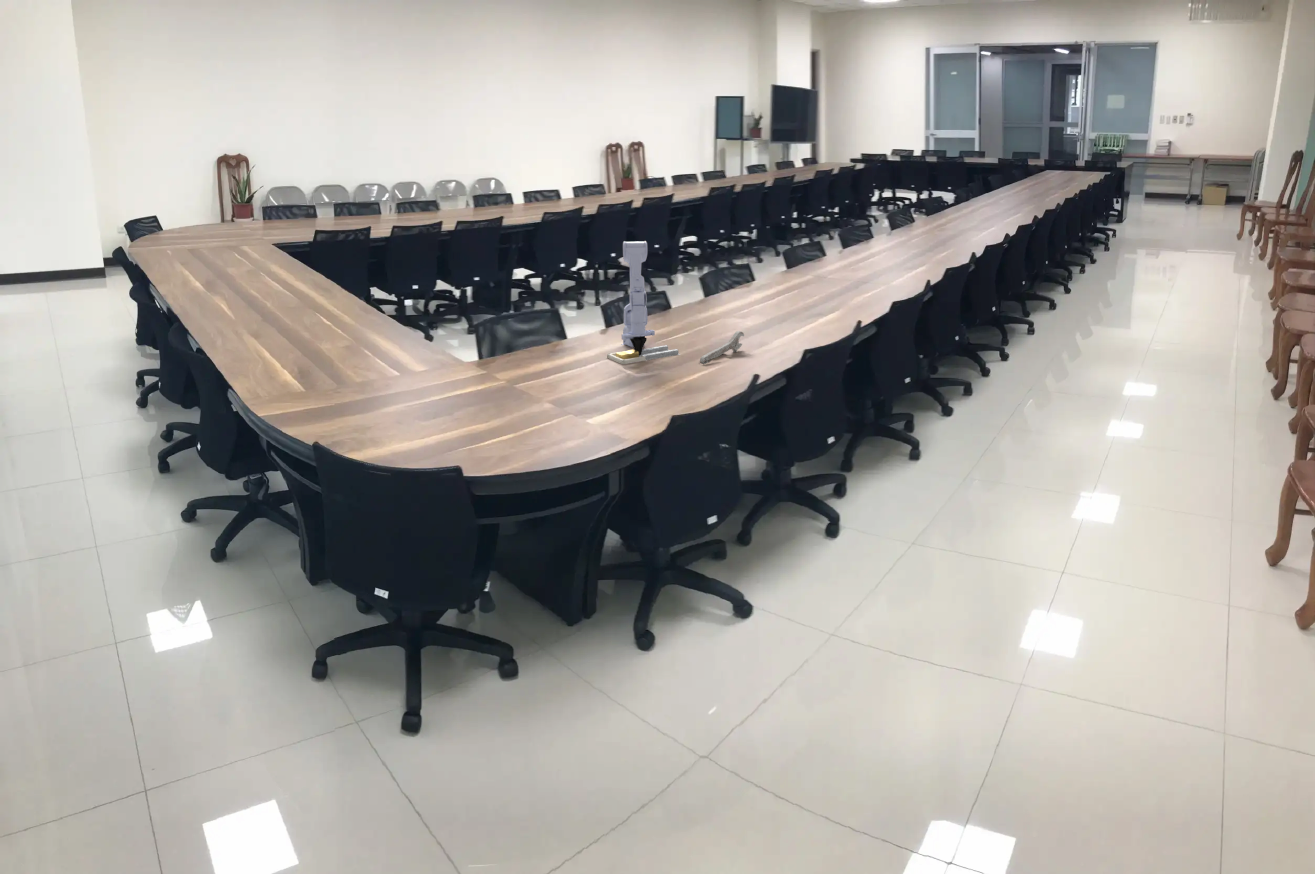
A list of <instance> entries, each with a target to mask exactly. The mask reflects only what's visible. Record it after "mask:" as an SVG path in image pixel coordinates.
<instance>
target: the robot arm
mask: <svg viewBox="0 0 1315 874" xmlns="http://www.w3.org/2000/svg"><path fill="white" fill-rule="evenodd" d="M622 257H623V261H624V262H625V263H627V264H628V266H629V303H628V304H626V305H625V306H624V308H623V325H624V327H623V330H622V334H621V340H622V344H620V345H622V346H624V345H626V346H627V347H631V348H633V349H634V350H636V351H638V352H639V356H640V355H641V353H642V349H644V346H645V343H646V342H647V339H648V338H647V337H649V336H655V333H656V330H654V329H648V330H646V326H647V325H648V322H649V321H648V317H649V316H648V308H647V301H648V299H647V292H646V289H645V277H644V276H643V275H642V263H644V262H646V260H647V257H648V242H647V241H646V240H644V241H623V242H622Z"/></svg>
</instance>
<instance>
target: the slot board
mask: <svg viewBox="0 0 1315 874" xmlns="http://www.w3.org/2000/svg"><path fill="white" fill-rule="evenodd" d="M680 355H681V353H679V349H677V348H674V349H669V345H667V344H664V345H660V346H654V347H648V348H643V349H642V353H641V355H640V356H639V357H642V356H645V361H650V360H656V359H662V358H667V357H675V356H680ZM645 361H644V362H645Z"/></svg>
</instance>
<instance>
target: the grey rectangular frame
mask: <svg viewBox="0 0 1315 874" xmlns="http://www.w3.org/2000/svg"><path fill="white" fill-rule="evenodd" d="M629 350H630V349H629ZM629 350H627V351H629ZM625 351H626V350H623V351H617V352H611V353H607V354H606V358H607V359H609V360H611V361H613V362H616V363H619V364H621V365H628V364H629V365H630V364H633V363H640V362H645V356H642V357H637V358H631V359H625V360H623V359H621V358H618V357H616V353H620V352H625Z"/></svg>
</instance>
